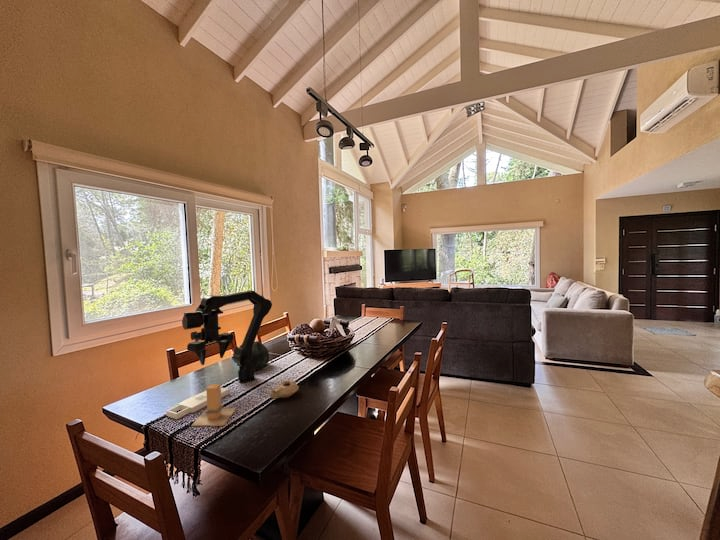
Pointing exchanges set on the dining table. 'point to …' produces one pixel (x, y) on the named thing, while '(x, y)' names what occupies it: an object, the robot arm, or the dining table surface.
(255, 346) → the squash
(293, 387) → the pottery oil lamp
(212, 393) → the tan tall block
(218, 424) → the cork mat
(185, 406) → the power strip
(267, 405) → the dining table surface
